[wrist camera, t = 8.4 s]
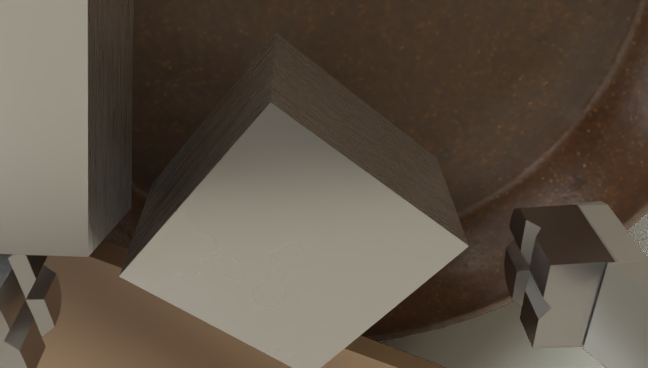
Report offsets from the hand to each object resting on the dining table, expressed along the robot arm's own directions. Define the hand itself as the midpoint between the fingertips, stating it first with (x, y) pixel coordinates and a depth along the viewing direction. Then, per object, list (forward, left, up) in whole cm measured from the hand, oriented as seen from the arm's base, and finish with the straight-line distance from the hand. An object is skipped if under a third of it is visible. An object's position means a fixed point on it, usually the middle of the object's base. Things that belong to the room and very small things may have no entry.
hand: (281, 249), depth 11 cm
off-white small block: (0, 0, -3) cm, 3 cm away
